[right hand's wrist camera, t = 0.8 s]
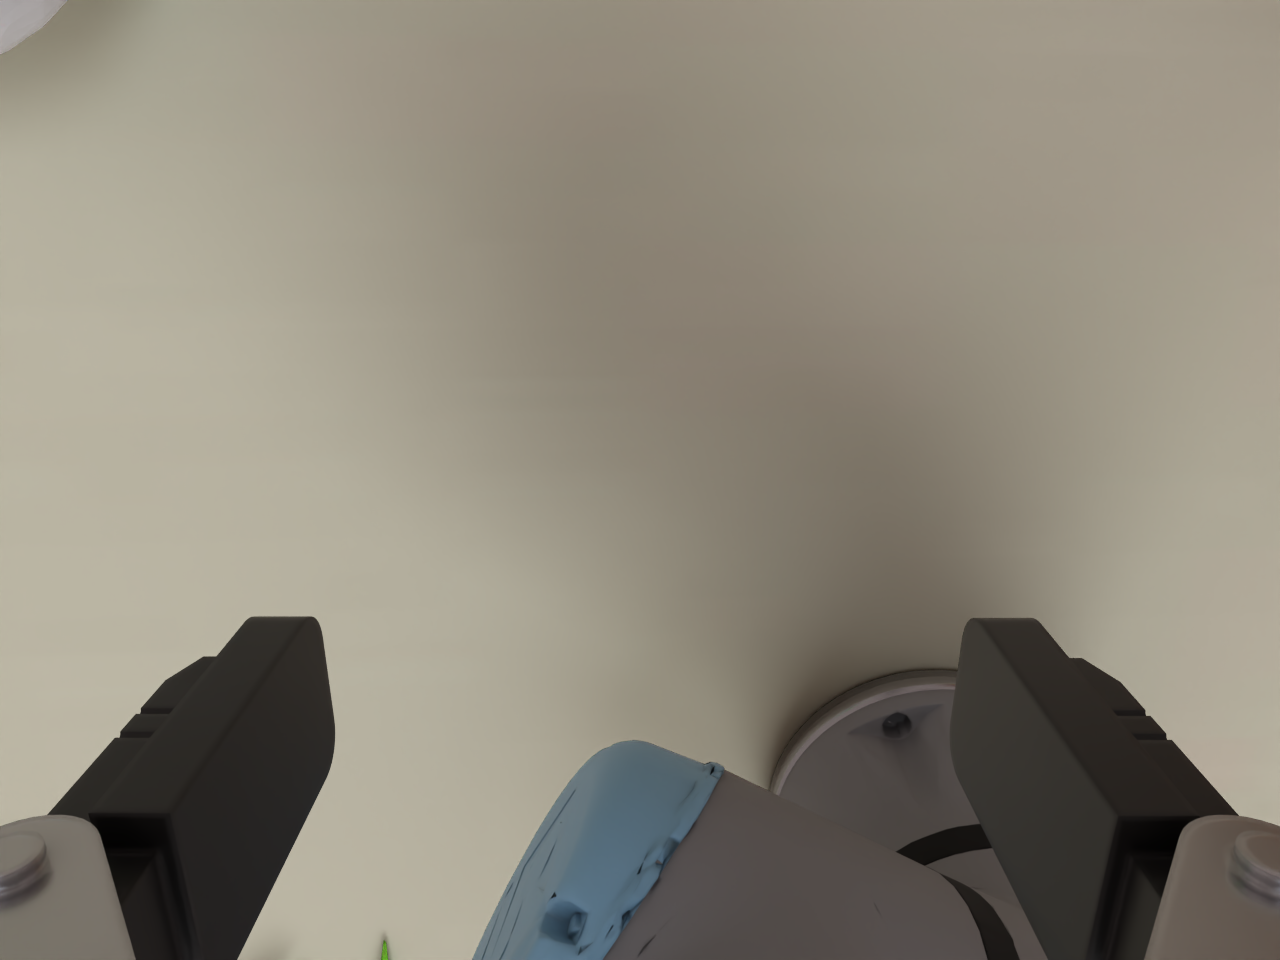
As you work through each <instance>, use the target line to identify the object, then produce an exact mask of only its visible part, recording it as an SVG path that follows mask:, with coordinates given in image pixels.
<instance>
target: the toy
mask: <svg viewBox="0 0 1280 960" xmlns="http://www.w3.org/2000/svg"><path fill="white" fill-rule="evenodd" d="M381 960H388V956H387V947H386V942H385V941H384V942H383V950H382V958H381Z"/></svg>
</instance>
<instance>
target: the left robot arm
mask: <svg viewBox="0 0 1280 960" xmlns="http://www.w3.org/2000/svg"><path fill="white" fill-rule="evenodd" d="M957 672H958V671H948V670H921V671H911V672H904V673H899V674H894V675H890V676H886V677H882V678H879V679H876V680H873V681H870V682H867V683H865V684H862V685H860V686H858V687H856V688H853V689H851V690H849V691H847V692H846V693H844V694H842V695H840V696H839V697H837V698H835V699H834V700H832V701H831V702H829V703H828V704H826V705H825V706H823V707H822V708H821V709H820V710H819V711H817V712H816V713H815V714H814V715H813V716H811V717H810V718H809V719H808V720H807V721H806V722H805V723H804V724H803V725H802V727H801V728H800V729H799V730H798V731H797V733H796V734H795V735H794V736H793V737H792V739H791V740H790V742H789V743H788V745H787V746H786V748H785V750H784V752H783V753H782V755H781V757H780V759H779V761H778V764H777V766H776V769H775V771H774V775H773V778H772V782H771V787H770V791H768V790H766V789H764V788H761V787H759V786H757V785H755V784H753V783H751V782H749V781H747V780H745V779H743V778H741V777H739V776H737V775H734V774H732V773H730V772H728V771H726V770H724V767H723V766H721V765H720V764H718V763H714V762H709V763H706V764H703V763H700V762H698V761H695V760H692V759H690V758H687V757H685V756H682V755H679V754H677V753H674V752H672V751H669V750H666V749H664V748H661V747H659V746H656V745H653V744H651V743H648V742H644V741H637V740H632V741H624V742H619V743H616V744H613V745H612V746H611V747H608V748H605V749H602V750H601V751H599V752H598V753H596V754H595V755H594V756H592V757H591V758H590V759H589V760H588V761H587V762H586V763H585V764H584V765H583V766H582V767H581V768H580V769H579V770H578V772H577V773H576V774H575V776H574V777H573V778H572V779H571V781H570V782H569V783H568V785H567V786H566V787H565V789H564V790H563V792H562V793H561V794H560V796H559V797H558V799H557V800H556V802H555V803H554V805H553V806H552V808H551V810H550V811H549V813H548V814H547V816H546V817H545V819H544V821H543V822H542V824H541V826H540V827H539V829H538V831H537V832H536V834H535V836H534V838H533V839H532V841H531V843H530V845H529V847H528V848H527V850H526V852H525V854H524V856H523V857H522V859H521V861H520V863H519V865H518V867H517V868H516V870H515V872H514V874H513V876H512V878H511V880H510V881H509V883H508V885H507V887H506V889H505V891H504V893H503V895H502V897H501V899H500V901H499V903H498V905H497V907H496V909H495V911H494V913H493V915H492V918H491V920H490V922H489V924H488V926H487V928H486V930H485V932H484V934H483V936H482V939H481V941H480V943H479V945H478V947H477V950H476V952H475V954H474V956H473V959H472V960H1048V959H1047V957H1046V955H1045V953H1044V951H1043V949H1042V947H1041V945H1040V943H1039V941H1038V939H1037V937H1036V935H1035V933H1034V931H1033V929H1032V927H1031V925H1030V923H1029V921H1028V919H1027V917H1026V915H1025V913H1024V911H1023V909H1022V907H1021V905H1020V903H1019V901H1018V899H1017V897H1016V895H1015V893H1014V891H1013V889H1012V887H1011V885H1010V883H1009V881H1008V879H1007V876H1006V874H1005V872H1004V870H1003V868H1002V866H1001V864H1000V862H999V860H998V858H997V856H996V854H995V852H994V850H993V848H992V846H991V844H990V842H989V840H988V838H987V836H986V834H985V832H984V830H983V828H982V826H981V824H980V822H979V820H978V818H977V816H976V814H975V812H974V810H973V808H972V806H971V804H970V802H969V800H968V798H967V796H966V794H965V792H964V790H963V788H962V786H961V784H960V782H959V780H958V778H957V776H956V773H955V770H954V766H953V762H952V757H951V750H950V721H951V714H952V707H953V700H954V693H955V686H956V679H957Z"/></svg>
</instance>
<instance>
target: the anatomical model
mask: <svg viewBox="0 0 1280 960" xmlns="http://www.w3.org/2000/svg"><path fill="white" fill-rule="evenodd" d="M67 1H68V0H0V54H3V53H5V52H7V51H9V50H10V49H12V48H13V47H15V46H16V45H18V44H19V43H20V42H22V41H23V40H25V39H26V38H28V37H29V36H31V35H32V34H33V33H35V32H36V31H38V30H39V29H41V28H42V27H44V25H45V24H46V23H47V22H48V21H49V20H50V19H51V18H52V17H53V16H54V15H55V14H56V13H57V12H58V10H59V9H60V8H61V7H62V6H63V5H64V4H65V3H66V2H67Z"/></svg>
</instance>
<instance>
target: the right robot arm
mask: <svg viewBox="0 0 1280 960" xmlns="http://www.w3.org/2000/svg"><path fill="white" fill-rule="evenodd" d="M334 745H335V723H334V715H333V708H332V700H331V693H330V686H329V679H328V672H327V664H326V657H325V650H324V643H323V636H322V631H321V627H320V625H319V623H318V621H317V620H316V619H315V618H314V617H250V618H249V619H247V620H246V621H245V622H244V624H243V625H242V626H241V627H240V629H239V630H238V631H237V632H236V633H235V635H234V636H233V637H232V638H231V639H230V641H229V642H228V643H227V644H226V646H225V647H224V648H223V649H222V650H221V652H220V653H219V654H218V655H217V657H202V658H201V659H199V660H197V661H196V662H194V663H193V664H191V665H189V666H188V667H186V668H185V669H183V670H181V671H180V672H178V673H177V674H175V675H173V676H172V677H170V678H169V679H167V680H165V682H164V683H163V684H162V685H161V686H160V687H159V688H158V689H157V691H156V692H155V693H154V694H153V695H152V696H151V697H150V699H149V700H148V701H147V702H146V703H145V704H144V705H143V707H142V708H141V713H140V714H136V715H135V716H134V717H133V718H132V719H131V720H130V721H129V722H128V724H127V725H126V726H125V727H124V728H123V729H122V730H121V732H120V738H114V740H113V741H112V742H111V743H110V744H109V745H108V746H107V748H106V749H105V750H104V751H103V752H102V753H101V754H100V755H99V757H98V758H97V759H96V760H95V761H94V762H93V763H92V765H91V766H90V767H89V768H88V769H87V770H86V771H85V773H84V774H83V775H82V776H81V777H80V778H79V779H78V781H77V782H76V783H75V784H74V785H73V786H72V787H71V788H70V790H69V791H68V792H67V793H66V794H65V795H64V796H63V798H62V799H61V800H60V801H59V802H58V803H57V804H56V806H55V807H54V808H53V809H52V810H51V811H50V812H49V814H48V815H45V816H38V817H32V818H27V819H23V820H18V821H15V822H12V823H9V824H6V825H3V826H0V960H237V959H238V957H239V955H240V953H241V951H242V949H243V947H244V944H245V942H246V940H247V938H248V936H249V934H250V932H251V930H252V928H253V926H254V924H255V922H256V920H257V918H258V916H259V914H260V912H261V910H262V908H263V906H264V904H265V902H266V900H267V898H268V896H269V894H270V892H271V890H272V888H273V886H274V884H275V881H276V879H277V877H278V875H279V873H280V871H281V869H282V867H283V865H284V863H285V861H286V859H287V857H288V855H289V853H290V851H291V849H292V847H293V845H294V843H295V841H296V839H297V837H298V835H299V833H300V831H301V829H302V827H303V825H304V823H305V820H306V818H307V816H308V814H309V812H310V810H311V808H312V806H313V804H314V802H315V800H316V798H317V796H318V794H319V792H320V790H321V788H322V786H323V784H324V782H325V780H326V778H327V775H328V773H329V770H330V767H331V763H332V759H333V753H334ZM950 750H951V757H952V762H953V766H954V770H955V773H956V776H957V778H958V780H959V782H960V784H961V786H962V788H963V790H964V792H965V794H966V796H967V798H968V800H969V802H970V804H971V806H972V808H973V810H974V812H975V814H976V816H977V818H978V820H979V822H980V824H981V826H982V828H983V830H984V832H985V834H986V836H987V838H988V840H989V842H990V844H991V846H992V848H993V850H994V852H995V854H996V856H997V858H998V860H999V862H1000V864H1001V866H1002V868H1003V870H1004V872H1005V874H1006V876H1007V879H1008V881H1009V883H1010V885H1011V887H1012V889H1013V891H1014V893H1015V895H1016V897H1017V899H1018V901H1019V903H1020V905H1021V907H1022V909H1023V911H1024V913H1025V915H1026V917H1027V919H1028V921H1029V923H1030V925H1031V927H1032V929H1033V931H1034V933H1035V935H1036V937H1037V939H1038V941H1039V943H1040V945H1041V947H1042V949H1043V951H1044V953H1045V955H1046V957H1047V959H1048V960H1280V826H1277V825H1274V824H1271V823H1268V822H1265V821H1262V820H1257V819H1253V818H1248V817H1242V816H1239V815H1238V814H1237V813H1236V812H1235V811H1234V810H1233V809H1232V807H1231V806H1230V805H1229V804H1228V803H1227V802H1226V801H1225V800H1224V798H1223V797H1222V796H1221V795H1220V794H1219V793H1218V792H1217V791H1216V789H1215V788H1214V787H1213V786H1212V785H1211V784H1210V783H1209V782H1208V780H1207V779H1206V778H1205V777H1204V776H1203V775H1202V774H1201V772H1200V771H1199V770H1198V769H1197V768H1196V767H1195V766H1194V765H1193V763H1192V762H1191V761H1190V760H1189V759H1188V758H1187V757H1186V756H1185V754H1184V753H1183V752H1182V751H1181V750H1180V749H1179V748H1178V747H1177V745H1176V744H1175V743H1174V742H1173V741H1172V740H1167V738H1166V733H1165V732H1164V731H1163V730H1162V729H1161V727H1160V726H1159V725H1158V724H1157V723H1156V722H1155V721H1154V720H1153V718H1152V717H1151V716H1146V714H1145V709H1144V708H1143V707H1142V706H1141V705H1140V704H1139V703H1138V701H1137V700H1136V699H1135V698H1134V697H1133V696H1132V695H1131V694H1130V692H1129V691H1128V690H1127V689H1126V688H1125V687H1124V686H1123V685H1122V683H1121V682H1119V681H1118V680H1116V679H1114V678H1113V677H1111V676H1110V675H1108V674H1106V673H1105V672H1103V671H1102V670H1100V669H1098V668H1097V667H1095V666H1094V665H1092V664H1090V663H1089V662H1087V661H1086V660H1084V659H1082V658H1069V657H1068V656H1067V655H1066V654H1065V652H1064V651H1063V650H1062V649H1061V648H1060V646H1059V645H1058V644H1057V643H1056V642H1055V640H1054V639H1053V638H1052V637H1051V636H1050V634H1049V633H1048V632H1047V631H1046V629H1045V628H1044V627H1043V626H1042V625H1041V623H1040V622H1038V621H1037V620H1036V619H1034V618H972V619H970V620H969V621H968V622H967V624H966V626H965V629H964V632H963V637H962V643H961V650H960V657H959V665H958V672H957V679H956V686H955V693H954V700H953V707H952V714H951V721H950Z"/></svg>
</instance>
